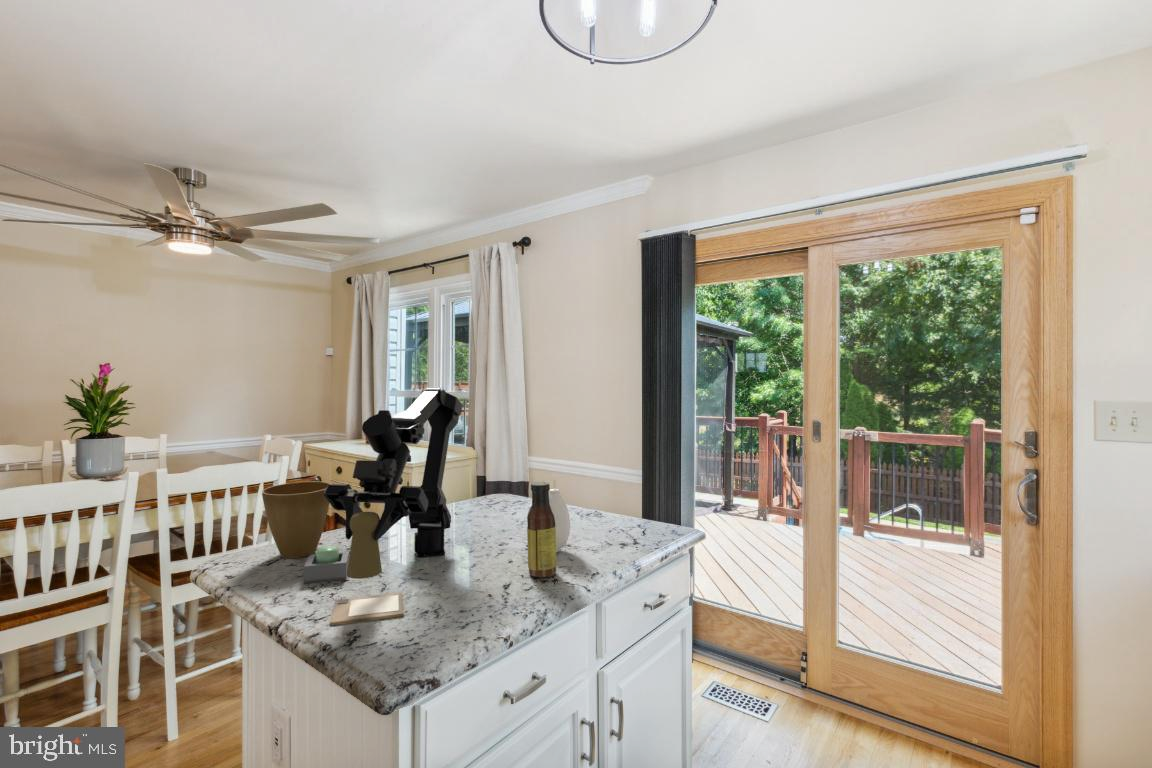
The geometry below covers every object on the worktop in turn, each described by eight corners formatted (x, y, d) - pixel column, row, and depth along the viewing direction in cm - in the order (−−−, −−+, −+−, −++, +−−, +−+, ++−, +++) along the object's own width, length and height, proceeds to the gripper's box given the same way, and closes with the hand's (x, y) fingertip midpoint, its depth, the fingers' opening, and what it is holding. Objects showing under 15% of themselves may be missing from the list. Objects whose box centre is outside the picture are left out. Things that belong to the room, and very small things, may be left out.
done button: (339, 558, 118) (339, 545, 118) (337, 565, 114) (338, 551, 114) (317, 560, 116) (317, 547, 116) (314, 567, 112) (315, 553, 112)
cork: (378, 577, 96) (379, 516, 96) (342, 579, 95) (343, 517, 95) (384, 565, 102) (385, 508, 102) (351, 567, 101) (351, 509, 101)
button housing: (349, 566, 120) (349, 551, 120) (346, 579, 113) (346, 562, 113) (309, 570, 118) (309, 554, 117) (303, 583, 110) (304, 566, 110)
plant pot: (285, 543, 136) (285, 480, 136) (342, 544, 136) (342, 481, 135) (246, 563, 121) (247, 493, 121) (311, 565, 121) (311, 494, 121)
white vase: (551, 558, 127) (552, 483, 127) (531, 550, 133) (532, 478, 133) (575, 552, 132) (576, 479, 132) (555, 544, 138) (556, 474, 138)
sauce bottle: (560, 571, 119) (561, 481, 119) (550, 580, 113) (551, 487, 113) (533, 567, 121) (534, 479, 121) (521, 576, 115) (522, 484, 115)
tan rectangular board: (402, 594, 105) (402, 591, 105) (403, 616, 95) (403, 612, 95) (335, 602, 101) (335, 599, 101) (329, 625, 91) (329, 621, 91)
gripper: (329, 441, 103) (293, 513, 92) (423, 444, 101) (397, 518, 90) (350, 475, 111) (319, 544, 100) (437, 477, 109) (415, 549, 98)
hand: (361, 538), depth 97 cm, fingers closed on cork, 5 cm apart
